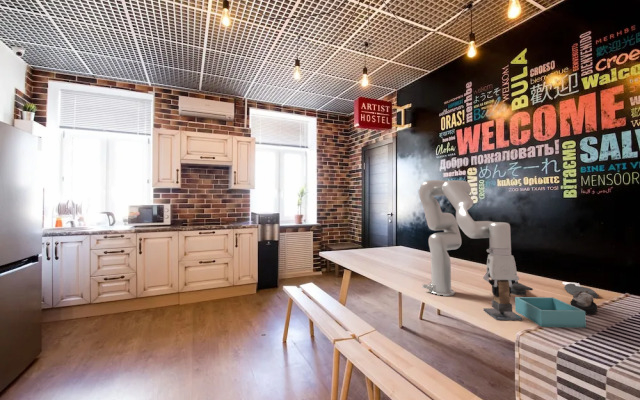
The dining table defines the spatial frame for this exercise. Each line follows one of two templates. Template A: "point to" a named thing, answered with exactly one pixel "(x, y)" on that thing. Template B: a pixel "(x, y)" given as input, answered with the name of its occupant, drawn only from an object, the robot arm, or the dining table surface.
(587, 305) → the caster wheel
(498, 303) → the strut
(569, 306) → the bin
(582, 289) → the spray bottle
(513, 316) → the base
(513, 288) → the zipper pull
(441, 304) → the dining table surface
